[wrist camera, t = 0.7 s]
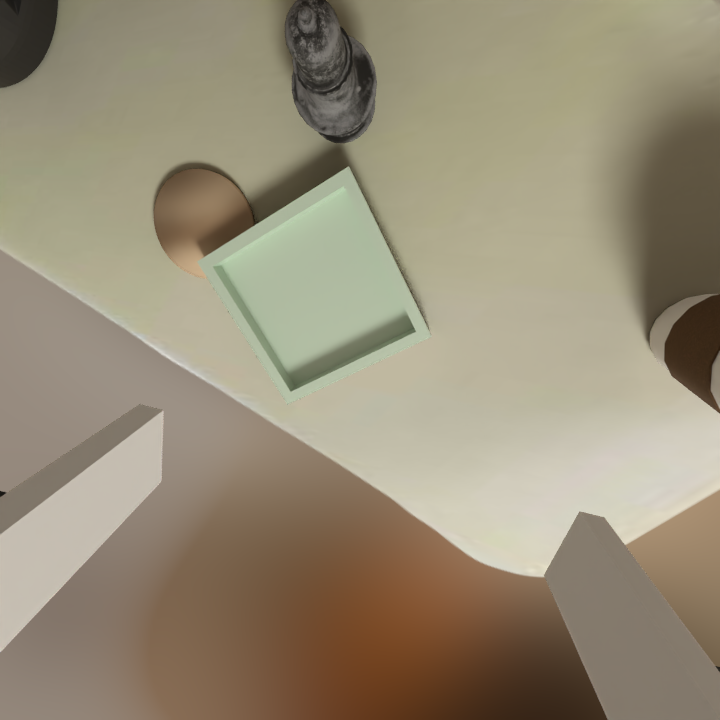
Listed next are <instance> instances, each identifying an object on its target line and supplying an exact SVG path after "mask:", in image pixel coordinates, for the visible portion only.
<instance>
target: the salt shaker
mask: <svg viewBox="0 0 720 720" xmlns="http://www.w3.org/2000/svg"><path fill="white" fill-rule="evenodd" d="M285 38H286V43H287V46H288V49H289V51H290V53H291V55H292V57H293V67H294V71H293V75H292V93H293V98H294V103H295V105H296V107H297V110H298V112H299V114H300V115H301V117H302V118H303V119H304V121H305V122H306V123H307V124H308V125H309V126H310V127H312V128H313V129H314V130H316V131H318V132H319V134H320V135H322V136H323V137H324V138H326V139H327V140H329V141H332V142H335V143H346V142H351V141H353V140H355V139H357V138H358V137H360V136H361V135H362V134H363V133H364V132H365V131H366V130H367V128H368V126H369V125H370V123H371V121H372V118H373V115H374V110H375V96H376V85H377V80H376V73H375V67H374V65H373V62H372V60H371V57H370V55H369V54H368V52H367V51H366V49H365V48H364V46H363V45H362V44H361V43H359V42H358V41H357V40H356V39H354V38H353V37H351V36H348V35H347V33H346V32H345V31H344V29H343V28H342V27H340V25H339V21H338V18H337V16H336V13H335V11H334V10H333V8H332V7H331V5H330V4H329V3H328V2H327V1H326V0H298V1H296V2H295V3H294V4H293V6H292V7H291V8H290V10H289V12H288V15H287V18H286V22H285Z"/></svg>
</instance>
